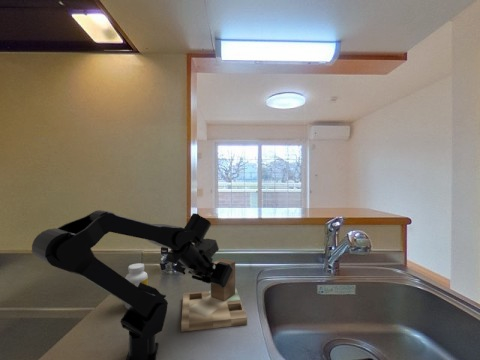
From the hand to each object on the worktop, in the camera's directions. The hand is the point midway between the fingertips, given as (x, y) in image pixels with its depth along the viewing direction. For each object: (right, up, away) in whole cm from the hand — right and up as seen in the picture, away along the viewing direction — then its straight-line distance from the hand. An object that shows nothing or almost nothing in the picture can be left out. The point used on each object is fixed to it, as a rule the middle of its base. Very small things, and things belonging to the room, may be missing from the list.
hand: (215, 281), depth 80 cm
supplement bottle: (-25, -8, +1) cm, 26 cm away
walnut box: (+2, -6, +3) cm, 7 cm away
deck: (-1, -8, -2) cm, 8 cm away
